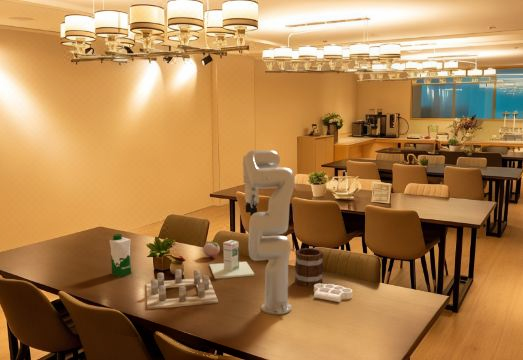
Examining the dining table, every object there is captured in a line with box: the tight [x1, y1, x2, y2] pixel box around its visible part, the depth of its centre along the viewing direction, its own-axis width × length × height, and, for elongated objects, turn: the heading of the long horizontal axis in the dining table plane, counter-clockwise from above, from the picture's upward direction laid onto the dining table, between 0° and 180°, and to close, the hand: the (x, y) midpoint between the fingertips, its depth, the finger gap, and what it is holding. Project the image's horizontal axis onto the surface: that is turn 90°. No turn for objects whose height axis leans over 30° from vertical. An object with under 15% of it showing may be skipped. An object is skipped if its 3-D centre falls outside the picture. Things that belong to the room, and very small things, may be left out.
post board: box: [145, 268, 219, 310], centre depth 226 cm, size 30×30×7 cm
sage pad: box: [209, 261, 255, 280], centre depth 257 cm, size 20×20×1 cm
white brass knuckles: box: [313, 283, 353, 303], centre depth 224 cm, size 3×18×15 cm
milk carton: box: [108, 233, 132, 278], centre depth 250 cm, size 9×9×20 cm
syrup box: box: [222, 239, 240, 271], centre depth 256 cm, size 6×6×14 cm
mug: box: [294, 247, 324, 288], centre depth 243 cm, size 20×14×15 cm
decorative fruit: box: [203, 240, 221, 259], centre depth 277 cm, size 9×8×10 cm
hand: (251, 214), depth 246 cm, fingers open, 9 cm apart
